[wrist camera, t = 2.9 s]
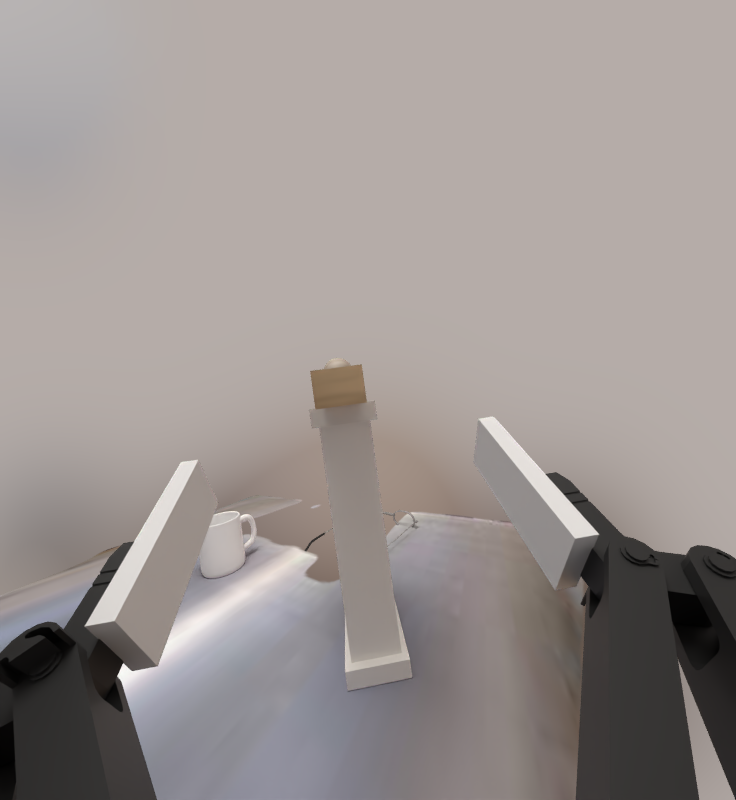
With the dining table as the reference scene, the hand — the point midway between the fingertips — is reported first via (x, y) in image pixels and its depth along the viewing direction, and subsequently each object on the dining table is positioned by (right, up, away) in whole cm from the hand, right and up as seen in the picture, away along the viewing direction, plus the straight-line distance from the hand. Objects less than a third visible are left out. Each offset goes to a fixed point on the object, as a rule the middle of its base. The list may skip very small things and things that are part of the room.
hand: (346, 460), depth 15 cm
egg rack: (-2, +2, +21) cm, 21 cm away
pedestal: (+2, -27, +26) cm, 38 cm away
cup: (-27, -32, +51) cm, 66 cm away
